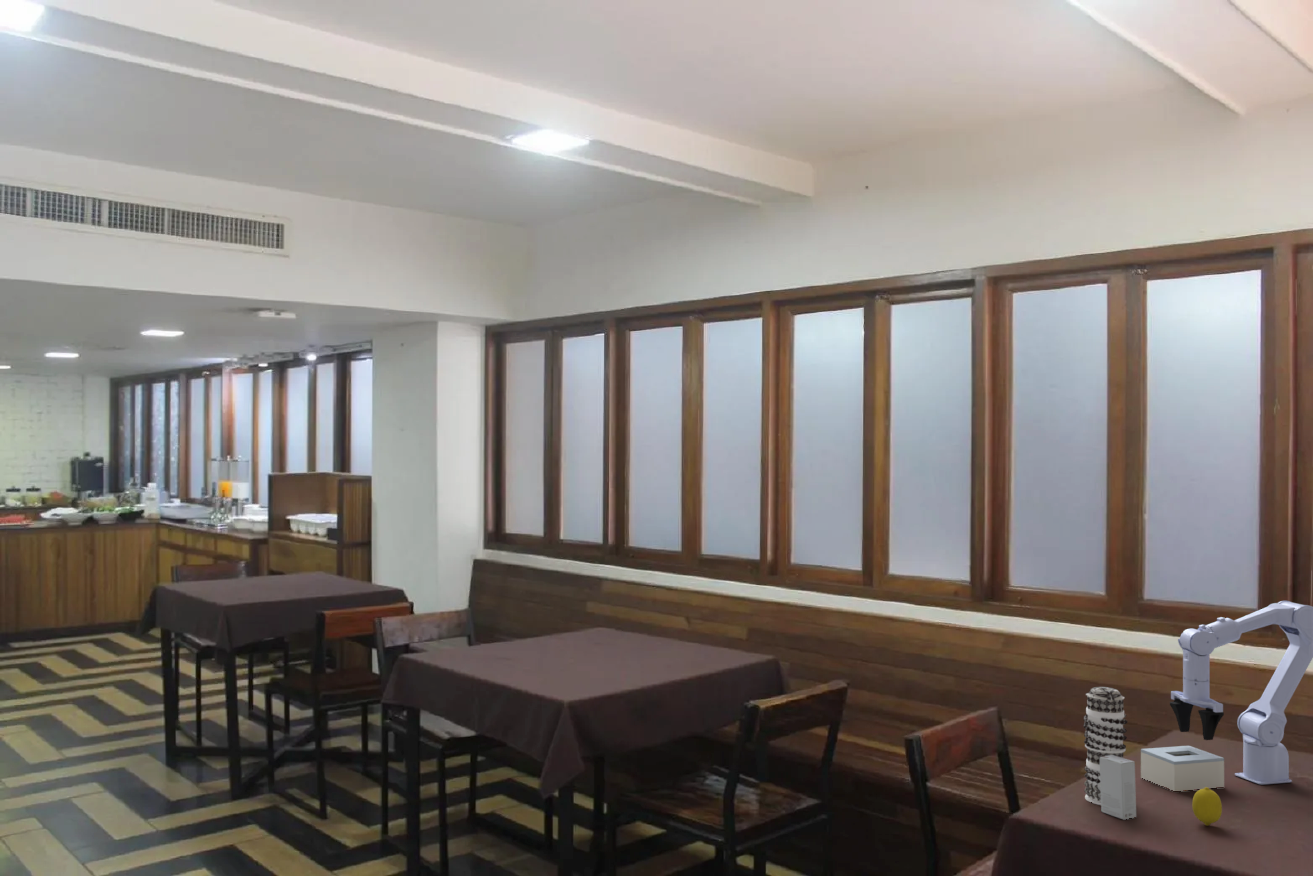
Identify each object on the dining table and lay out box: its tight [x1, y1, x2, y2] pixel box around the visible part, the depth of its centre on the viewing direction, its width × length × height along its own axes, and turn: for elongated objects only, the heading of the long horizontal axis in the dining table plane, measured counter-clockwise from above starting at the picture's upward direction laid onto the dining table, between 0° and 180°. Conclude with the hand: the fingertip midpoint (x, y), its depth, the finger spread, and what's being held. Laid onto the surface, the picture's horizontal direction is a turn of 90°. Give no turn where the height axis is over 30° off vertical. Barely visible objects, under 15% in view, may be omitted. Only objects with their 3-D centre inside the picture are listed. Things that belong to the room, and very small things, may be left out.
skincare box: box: [1100, 755, 1137, 821], centre depth 224 cm, size 6×4×12 cm
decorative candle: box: [1083, 686, 1128, 806], centre depth 234 cm, size 9×9×25 cm
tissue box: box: [1140, 745, 1225, 792], centre depth 248 cm, size 14×11×7 cm
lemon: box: [1191, 787, 1223, 827], centre depth 218 cm, size 6×6×8 cm
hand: (1196, 735), depth 251 cm, fingers open, 7 cm apart
